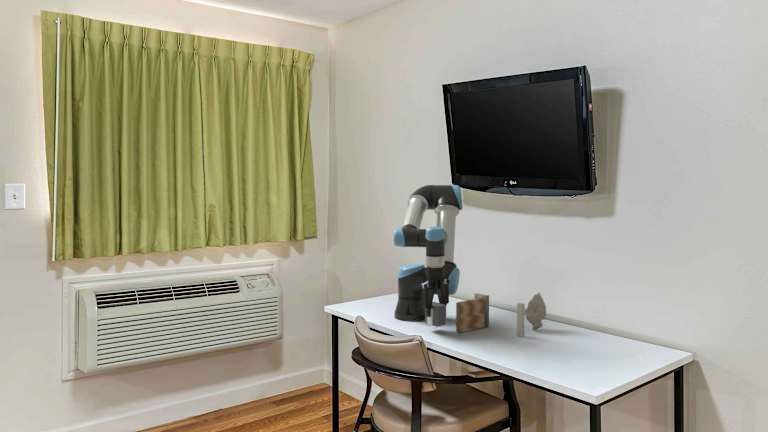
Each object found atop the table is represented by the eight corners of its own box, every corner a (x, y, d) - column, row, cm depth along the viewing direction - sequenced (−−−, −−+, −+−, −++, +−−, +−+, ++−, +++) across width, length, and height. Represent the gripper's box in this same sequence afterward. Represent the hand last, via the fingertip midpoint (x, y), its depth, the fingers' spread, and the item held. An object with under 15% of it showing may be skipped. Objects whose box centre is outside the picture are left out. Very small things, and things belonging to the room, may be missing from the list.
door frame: (473, 323, 250) (474, 293, 249) (477, 323, 251) (477, 292, 250) (521, 337, 229) (521, 304, 228) (524, 336, 231) (525, 303, 230)
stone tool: (529, 332, 235) (529, 295, 234) (522, 330, 239) (523, 294, 237) (549, 329, 241) (550, 292, 240) (543, 327, 244) (543, 291, 243)
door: (480, 325, 246) (480, 297, 245) (484, 326, 244) (484, 298, 243) (454, 331, 237) (454, 302, 236) (458, 332, 235) (458, 303, 234)
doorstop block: (425, 323, 240) (425, 303, 239) (434, 320, 243) (434, 301, 242) (436, 326, 234) (436, 307, 233) (446, 324, 237) (446, 305, 236)
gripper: (424, 270, 228) (424, 329, 230) (458, 264, 238) (458, 320, 241) (411, 267, 234) (412, 324, 236) (445, 261, 244) (445, 317, 247)
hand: (435, 322), depth 238 cm, fingers closed on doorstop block, 5 cm apart
